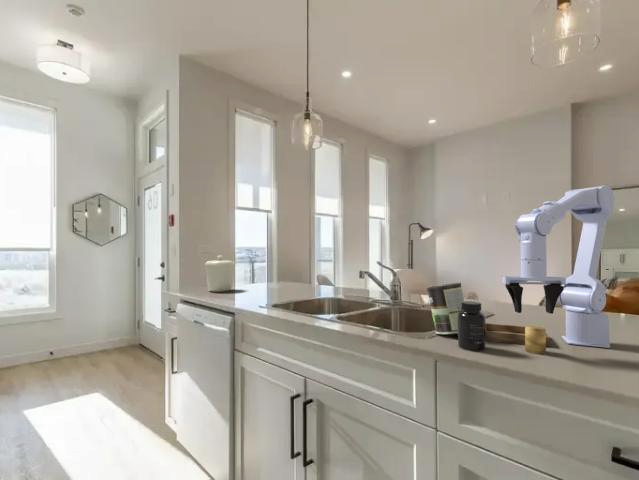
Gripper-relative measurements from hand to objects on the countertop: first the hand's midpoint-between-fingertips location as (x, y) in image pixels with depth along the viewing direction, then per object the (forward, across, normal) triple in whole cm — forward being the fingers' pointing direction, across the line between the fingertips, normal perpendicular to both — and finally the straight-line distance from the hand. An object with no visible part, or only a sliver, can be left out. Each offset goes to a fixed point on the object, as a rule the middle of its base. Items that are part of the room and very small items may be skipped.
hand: (533, 312), depth 90 cm
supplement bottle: (+10, +15, -1) cm, 18 cm away
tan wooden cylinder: (+10, 0, 0) cm, 10 cm away
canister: (+10, +127, -104) cm, 164 cm away
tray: (+10, 0, -12) cm, 16 cm away
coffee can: (+9, +16, -15) cm, 24 cm away
